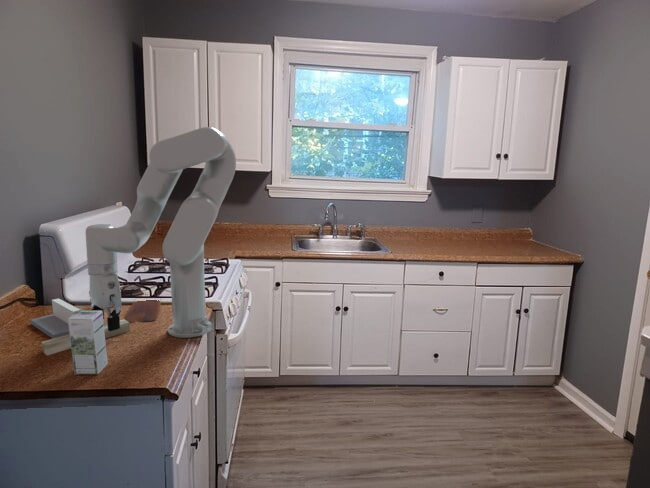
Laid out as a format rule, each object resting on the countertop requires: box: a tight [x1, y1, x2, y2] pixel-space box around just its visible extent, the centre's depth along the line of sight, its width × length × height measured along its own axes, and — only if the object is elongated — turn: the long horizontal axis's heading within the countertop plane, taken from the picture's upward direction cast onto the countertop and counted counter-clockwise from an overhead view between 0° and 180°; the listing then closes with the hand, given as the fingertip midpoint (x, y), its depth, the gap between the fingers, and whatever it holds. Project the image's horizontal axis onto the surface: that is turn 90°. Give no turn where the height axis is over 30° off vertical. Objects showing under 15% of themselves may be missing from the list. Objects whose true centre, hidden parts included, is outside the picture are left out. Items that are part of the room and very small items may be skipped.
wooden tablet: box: [123, 300, 162, 324], centre depth 151 cm, size 27×10×2 cm, turn 15°
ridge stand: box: [30, 297, 105, 339], centre depth 135 cm, size 18×14×6 cm
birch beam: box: [41, 319, 131, 356], centre depth 124 cm, size 3×22×3 cm, turn 139°
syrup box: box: [68, 310, 108, 376], centre depth 106 cm, size 6×6×14 cm
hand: (105, 325), depth 128 cm, fingers open, 9 cm apart
